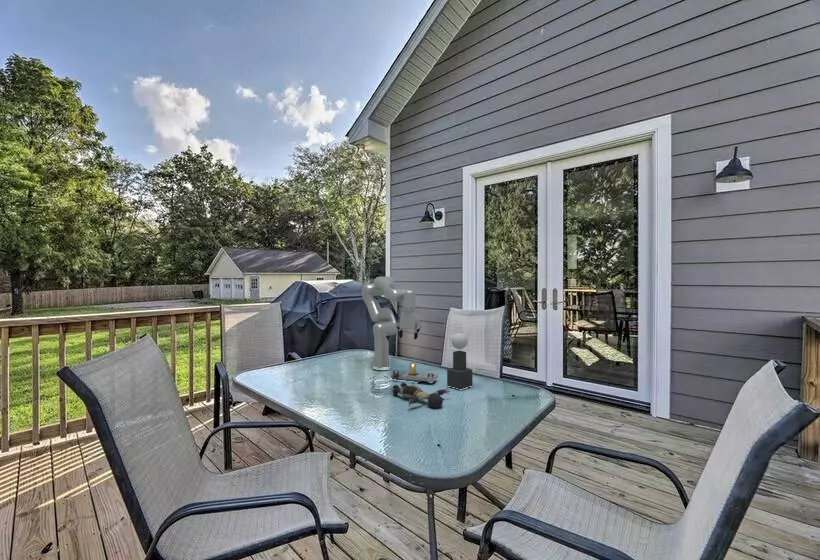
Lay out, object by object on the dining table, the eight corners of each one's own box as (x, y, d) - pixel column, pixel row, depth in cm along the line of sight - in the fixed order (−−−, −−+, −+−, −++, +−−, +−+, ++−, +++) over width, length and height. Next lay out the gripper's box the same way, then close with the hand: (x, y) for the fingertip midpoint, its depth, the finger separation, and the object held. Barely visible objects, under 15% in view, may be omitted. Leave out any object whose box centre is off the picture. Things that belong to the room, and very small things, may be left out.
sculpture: (459, 383, 212) (459, 331, 212) (472, 387, 204) (472, 333, 205) (446, 386, 206) (446, 332, 206) (460, 390, 198) (460, 334, 198)
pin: (408, 381, 217) (408, 364, 217) (411, 379, 221) (410, 363, 221) (414, 382, 216) (414, 364, 216) (417, 380, 220) (417, 363, 220)
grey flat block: (388, 380, 219) (388, 372, 219) (394, 376, 228) (394, 368, 228) (432, 385, 209) (432, 376, 209) (438, 381, 218) (438, 372, 218)
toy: (378, 400, 184) (419, 417, 161) (378, 386, 183) (419, 401, 161) (418, 389, 201) (459, 403, 179) (417, 376, 201) (459, 388, 179)
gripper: (393, 310, 226) (392, 338, 226) (419, 312, 219) (419, 340, 219) (398, 309, 233) (397, 336, 233) (424, 310, 226) (423, 338, 226)
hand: (408, 338), depth 226 cm, fingers open, 9 cm apart
